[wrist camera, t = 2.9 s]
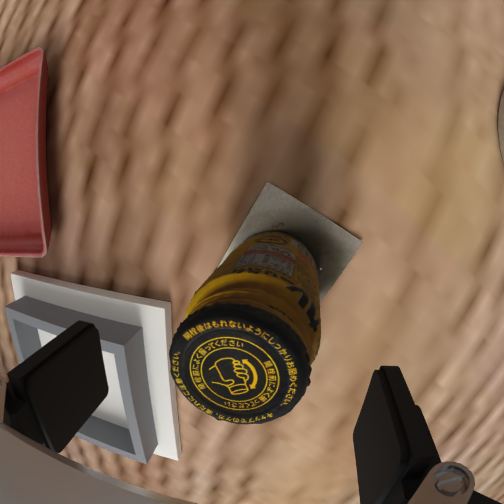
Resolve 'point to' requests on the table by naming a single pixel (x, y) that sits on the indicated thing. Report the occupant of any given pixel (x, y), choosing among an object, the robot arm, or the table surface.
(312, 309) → the condiment
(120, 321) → the holder
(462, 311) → the table surface
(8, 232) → the plant saucer
